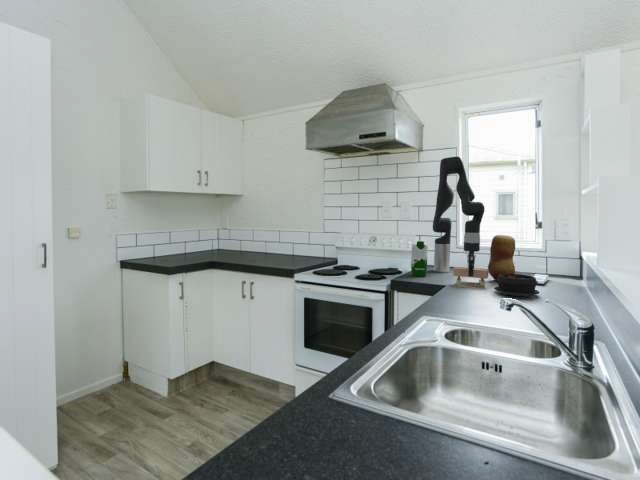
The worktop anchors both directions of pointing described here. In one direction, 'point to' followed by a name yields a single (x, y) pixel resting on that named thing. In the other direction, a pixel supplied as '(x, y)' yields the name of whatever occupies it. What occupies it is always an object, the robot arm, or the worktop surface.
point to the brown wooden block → (476, 272)
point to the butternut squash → (501, 256)
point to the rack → (479, 284)
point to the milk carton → (419, 259)
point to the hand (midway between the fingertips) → (470, 275)
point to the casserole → (517, 285)
